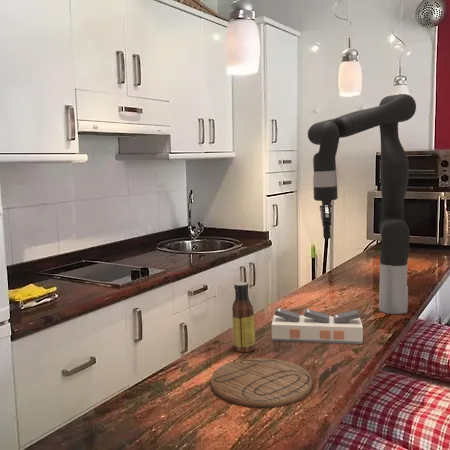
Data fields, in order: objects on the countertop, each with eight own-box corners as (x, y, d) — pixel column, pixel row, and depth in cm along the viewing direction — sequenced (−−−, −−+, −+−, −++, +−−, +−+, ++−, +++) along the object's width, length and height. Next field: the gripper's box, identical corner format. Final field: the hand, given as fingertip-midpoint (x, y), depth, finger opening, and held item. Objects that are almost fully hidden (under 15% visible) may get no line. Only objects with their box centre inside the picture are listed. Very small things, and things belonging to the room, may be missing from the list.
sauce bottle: (257, 346, 154) (256, 281, 152) (252, 354, 148) (250, 286, 146) (236, 344, 156) (235, 280, 154) (230, 351, 151) (228, 285, 148)
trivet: (190, 385, 130) (190, 378, 130) (257, 357, 147) (257, 350, 147) (265, 421, 112) (265, 412, 112) (332, 383, 130) (332, 376, 129)
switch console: (359, 332, 164) (359, 317, 164) (362, 344, 154) (363, 328, 154) (274, 329, 169) (274, 314, 168) (271, 340, 159) (271, 325, 158)
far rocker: (298, 319, 164) (299, 314, 164) (297, 323, 160) (299, 318, 160) (275, 312, 165) (276, 306, 164) (274, 316, 161) (275, 310, 161)
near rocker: (359, 314, 161) (357, 309, 160) (360, 319, 157) (358, 313, 156) (334, 320, 162) (333, 314, 162) (335, 324, 158) (333, 318, 158)
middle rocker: (327, 320, 162) (329, 314, 162) (327, 324, 158) (329, 318, 158) (303, 313, 163) (305, 307, 163) (303, 317, 159) (305, 311, 159)
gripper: (338, 185, 160) (340, 241, 162) (335, 183, 172) (337, 234, 175) (313, 187, 161) (316, 242, 163) (312, 184, 174) (314, 235, 176)
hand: (327, 238), depth 169 cm, fingers closed
